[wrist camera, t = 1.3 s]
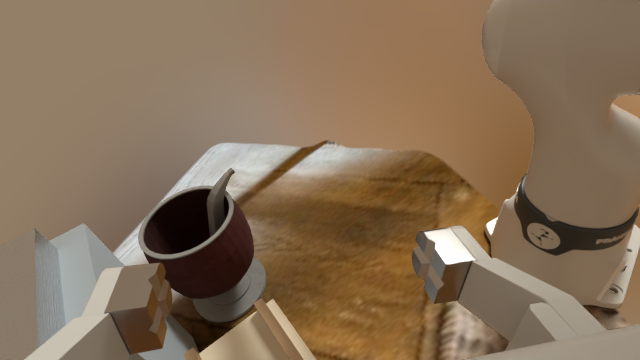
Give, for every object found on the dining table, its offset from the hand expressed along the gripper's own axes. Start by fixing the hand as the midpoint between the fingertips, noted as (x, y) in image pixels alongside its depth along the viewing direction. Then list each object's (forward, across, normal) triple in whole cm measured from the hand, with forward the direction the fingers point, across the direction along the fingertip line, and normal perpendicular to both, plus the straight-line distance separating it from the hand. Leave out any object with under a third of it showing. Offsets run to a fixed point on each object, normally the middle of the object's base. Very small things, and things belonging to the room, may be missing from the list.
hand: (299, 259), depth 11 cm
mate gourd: (+32, +7, +37) cm, 50 cm away
